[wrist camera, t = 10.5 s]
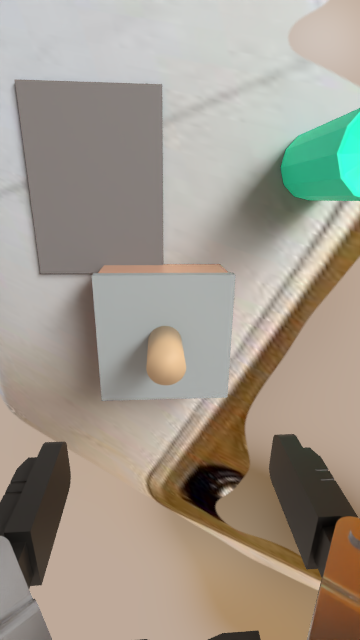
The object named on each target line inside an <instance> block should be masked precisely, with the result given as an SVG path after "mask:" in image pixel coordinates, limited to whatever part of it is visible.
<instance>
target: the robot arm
mask: <svg viewBox="0 0 360 640" xmlns="http://www.w3.org/2000/svg"><path fill="white" fill-rule="evenodd" d="M269 470H270V478H271V481H272V484H273V487H274V488H275V491H276V494H277V496H278V499H279V502H280V504H281V506H282V509H283V511H284V514H285V516H286V519H287V521H288V524H289V527H290V529H291V531H292V534H293V537H294V539H295V542H296V544H297V547H298V549H299V552H300V554H301V557H302V559H303V562H304V564H305V567H306V569H318V570H319V572H320V574H321V577H322V580H321V584H320V588H319V592H318V597H317V601H316V605H315V609H314V613H313V617H312V621H311V625H310V630H309V634H308V638H307V640H360V518H358V516H357V515H356V513H355V512H354V510H353V508H352V507H351V505H350V503H349V502H348V500H347V499H346V497H345V495H344V494H343V492H342V490H341V489H340V487H339V486H338V484H337V483H336V481H334V478H333V476H332V475H331V473H330V471H328V468H327V466H326V465H325V463H324V462H323V460H322V458H321V457H320V456H318V454H316V453H315V452H314V451H313V450H312V449H311V448H303V447H302V446H301V444H300V442H299V440H298V439H297V437H296V436H295V435H294V434H286V435H274V437H273V443H272V450H271V458H270V464H269ZM70 477H71V476H70V466H69V458H68V451H67V444H66V442H45V443H44V444H43V446H42V448H41V450H40V452H39V455H38V457H35V458H28V459H27V460H25V462H23V464H22V465H21V466H19V468H17V470H16V472H15V474H14V476H13V478H12V480H11V483H10V484H9V486H8V488H7V490H6V493H5V495H4V496H3V498H2V500H1V502H0V640H52V638H51V636H50V633H49V631H48V628H47V626H46V623H45V621H44V619H43V616H42V614H41V611H40V609H39V607H38V604H37V602H36V600H35V599H33V598H32V596H31V593H30V591H29V588H30V586H35V585H42V582H43V578H44V575H45V571H46V568H47V565H48V561H49V558H50V554H51V551H52V547H53V544H54V540H55V537H56V533H57V530H58V527H59V523H60V520H61V516H62V513H63V509H64V506H65V502H66V499H67V495H68V492H69V488H70ZM142 640H143V639H142ZM144 640H147V639H144ZM208 640H260V635H259V631H246V632H233V633H222V634H220V635H218V636H215V637H213V638H211V639H208Z"/></svg>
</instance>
